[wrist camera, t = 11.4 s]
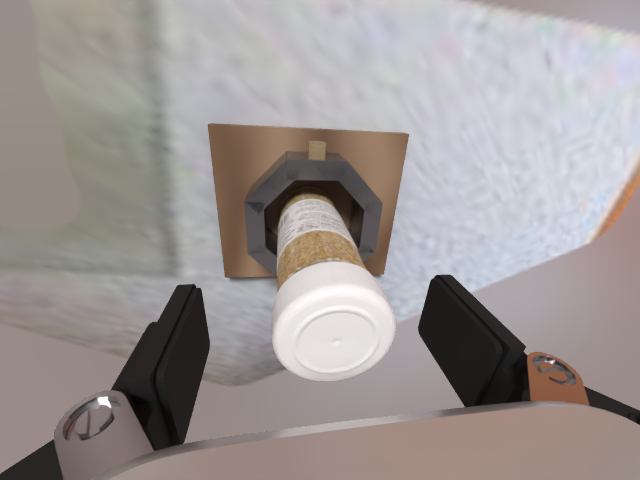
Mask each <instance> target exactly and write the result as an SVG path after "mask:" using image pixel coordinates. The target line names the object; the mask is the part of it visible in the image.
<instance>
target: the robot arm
mask: <svg viewBox="0 0 640 480" xmlns="http://www.w3.org/2000/svg"><path fill="white" fill-rule="evenodd" d="M418 330H419V334H420V336H421V338H422V339H423V341H424V343H425V344H426V346H427V347H428V349H429V351H430V352H431V354H432V355H433V357H434V358H435V360H436V362H437V363H438V365H439V366H440V368H441V369H442V371H443V373H444V374H445V376H446V377H447V379H448V380H449V382H450V384H451V385H452V387H453V388H454V390H455V392H456V393H457V395H458V396H459V398H460V400H461V401H462V403H463V404H464V406H465V407H464V408H455V409H447V410H438V411H429V412H421V413H412V414H403V415H395V416H386V417H379V418H370V419H362V420H354V421H346V422H338V423H329V424H321V425H313V426H305V427H297V428H289V429H281V430H273V431H265V432H258V433H251V434H243V435H237V436H229V437H223V438H216V439H209V440H202V441H197V442H192V443H187V444H183V443H184V441H185V437H186V434H187V430H188V427H189V423H190V419H191V416H192V412H193V408H194V404H195V401H196V397H197V393H198V390H199V386H200V382H201V379H202V375H203V371H204V368H205V364H206V360H207V356H208V353H209V348H210V340H209V334H208V327H207V321H206V315H205V309H204V303H203V296H202V291H201V288H196V286H195V284H188V285H178V286H177V287H176V289H175V291H174V292H173V294H172V296H171V298H170V300H169V302H168V303H167V305H166V307H165V309H164V311H163V313H162V314H161V316H160V318H159V320H158V322H152V323H150V324H149V325H148V327H147V328H146V330H145V332H144V333H143V335H142V337H141V339H140V340H139V342H138V344H137V346H136V347H135V349H134V351H133V352H132V354H131V356H130V358H129V359H128V361H127V363H126V365H125V366H124V368H123V370H122V371H121V373H120V375H119V377H118V378H117V380H116V382H115V384H114V385H113V387H112V389H111V390H109V391H108V390H107V391H102V392H99V393H95V394H93V395H91V396H89V397H86V398H84V399H83V400H81V401H80V402H78V403H77V404H75V405H74V406H73V407H72V408H71V409H70V410H69V411H67V412H66V413H65V415H64V416H63V417H62V418H61V420H60V421H59V422H58V424H57V426H56V429H55V431H54V439H53V440H52V441H50V442H49V443H47V444H45V445H44V446H43V447H41V448H39V449H38V450H36V451H35V452H33V453H32V454H30V455H29V456H27V457H25V458H24V459H22V460H21V461H19V462H18V463H16V464H15V465H13V466H12V467H10V468H9V469H7V470H5V471H4V472H2V473H1V474H0V480H640V411H639V410H637V409H635V408H632V407H630V406H628V405H625V404H623V403H621V402H618V401H616V400H614V399H612V398H609V397H607V396H605V395H603V394H600V393H598V392H596V391H594V390H591V389H589V388H587V387H585V386H584V385H583V381H582V379H581V377H580V376H579V374H578V373H577V372H576V371H575V370H574V369H573V368H572V367H571V366H570V365H568V364H567V363H565V362H564V361H562V360H561V359H559V358H557V357H554V356H552V355H549V354H546V353H542V352H533V353H530V354H529V355H528V356H527V355H526V354H525V353H524V350H525V348H526V346H525V345H524V344H523V343H522V342H521V341H520V340H519V339H518V338H517V337H515V336H514V335H513V334H512V333H511V332H510V331H509V330H508V329H507V328H506V327H505V326H504V325H503V324H502V323H501V322H500V321H499V320H498V319H497V318H496V317H495V316H493V315H492V314H491V313H490V312H489V311H488V310H487V309H486V308H485V307H484V306H483V305H482V304H481V303H480V302H479V301H478V300H477V299H476V298H475V297H474V296H473V295H472V294H471V293H470V292H468V291H467V290H466V289H465V288H464V287H463V286H462V285H461V284H460V283H459V282H458V281H457V280H456V279H455V278H454V277H453V276H451V275H436V276H435V277H434V279H432V280H431V282H430V285H429V289H428V293H427V296H426V300H425V304H424V307H423V311H422V315H421V319H420V322H419V326H418Z"/></svg>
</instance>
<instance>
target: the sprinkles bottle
mask: <svg viewBox="0 0 640 480" xmlns="http://www.w3.org/2000/svg"><path fill="white" fill-rule="evenodd" d="M278 218H279V226H278V245H277V275H278V277H277V284H278V289H277V295H276V297H275V300H274V303H273V309H272V344H273V348H274V351H275V354H276V356H277V358H278V359H279V361H280V362H281V364H282V365H283V366H284V367H285V368H287V369H288V370H289V371H290V372H292V373H294V374H295V375H297V376H300V377H302V378H305V379H308V380H312V381H320V382H331V381H339V380H344V379H348V378H352V377H354V376H357V375H359V374H361V373H363V372H365V371H367V370H368V369H370V368H371V367H373V366H374V365H375V364H377V363H378V362H379V361H380V360H381V359H382V358H383V357H384V356H385V354H386V353H387V352H388V350H389V348H390V347H391V345H392V343H393V340H394V336H395V332H396V321H395V316H394V312H393V310H392V308H391V306H390V304H389V302H388V300H387V298H386V296H385V294H384V292H383V290H382V288H381V286H380V285H379V283H378V281H377V280H376V279H375V277H374V276H372V275H371V274H370V272H369V271H368V270H367V269H366V267H365V266H364V264H363V262H362V260H361V258H360V255H359V253H358V249H357V247H356V245H355V243H354V241H353V239H352V237H351V235H350V233H349V232H348V230H347V228H346V226H345V224H344V222H343V220H342V218H341V216H340V215H339V213H338V212H337V210H336V209H335V205H334V202H333V200H332V199H331V197H330V196H329V195H328V194H327V193H326V192H325V191H323V190H321V189H320V188H317V187H314V186H301V187H297V188H295V189H293V190H291V191H290V192H289V193H287V194H286V195H285V196H284V198H283V200H282V201H281V204H280V206H279V210H278Z"/></svg>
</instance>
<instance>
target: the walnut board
mask: <svg viewBox="0 0 640 480" xmlns="http://www.w3.org/2000/svg"><path fill="white" fill-rule="evenodd" d="M208 131H209V139H210V148H211V157H212V166H213V175H214V183H215V192H216V201H217V210H218V219H219V228H220V236H221V245H222V254H223V263H224V272H225V277H271V276H275V275H273V274H272V273H271V272H269V271H268V270H267V269H266V268H264V267H263V266H262V265H261V264H259V263H258V262H257V261H256V260H254V259H253V258H252V257H251V256H249V255H248V251H247V236H246V222H245V207H244V201H245V198H246V196H247V193H248V191H249V189H250V186H251V185H252V184H253V183H254V182H256V181H257V180H258V179H259V178H260V177H261V176H262V175H263V174H264V173H265V172H266V171H267V170H268V169H269V168H270V167H271V166H272V165H273V164H274V163H275V162H276V161H277V160H278V159H279V158H280V157H281V156H282V155H283V154H284V153H285V152H286V151H300V152H308V141H324V142H325V143H326V151H325V152H326V153H339V154H340V155H341V156H342V157H343V158H344V159H346V160H347V161H348V162H349V163H350V164H351V166H352V167H353V168H354V169H355V170H356V172H357V173H358V174H359V175H360V176H361V178H362V179H363V180H364V181H365V182H366V184H367V185H368V186H369V187H370V188H371V190H372V191H373V192H374V193H375V194H376V196H377V197H378V198H379V199H380V200H381V202H382V203H383V207H382V213H381V219H380V225H379V232H378V238H377V244H376V251H375V253H374V254H373V255H372V256H371V257H369V258H368V259H367V260H366V261H364V262H363V264H364V266H365V267H366V269H367V270H368V271H369V272H370V274H384V270H385V265H386V259H387V253H388V248H389V242H390V237H391V231H392V226H393V220H394V215H395V209H396V204H397V198H398V193H399V187H400V182H401V176H402V170H403V165H404V159H405V154H406V148H407V143H408V137H409V134H406V133H393V132H373V131H353V130H333V129H312V128H292V127H272V126H252V125H231V124H208ZM301 186H314V187H317V188H320V189H321V190H323V191H325V192H326V193H327V194H328V195H329V196H330V197H331V199H332V200H333V202H334V205H335V209H336V210H337V212H338V213H339V215H340V216H341V218H342V220H343V222H344V224H345V226H346V228H347V229H348V228H349V225H350V216H351V207H352V195H351V194H350V193H349V192H348V191H347V190H346V189H345V188H344V186H343V185H342V184H341V183H340V182H339V181H325V180H294V181H293V182H292V183H291V184H290V185H289V186H288V187H287V188H286V189H285V190H284V191H283V192H282V193H281V194H279V195H278V196H277V197H276V198H275V199H274V200H273V201H272V202H271V203H270V204H269V205H268V206H267V213H268V228H269V229H270V230H272V231H273V232H274V233H275V234H276V235H277V236H278V226H279V218H278V210H279V206H280V204H281V201H282V200H283V198H284V196H285V195H286V194H287V193H289V192H290V191H291V190H293V189H295V188H297V187H301Z"/></svg>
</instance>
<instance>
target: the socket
mask: <svg viewBox="0 0 640 480" xmlns="http://www.w3.org/2000/svg"><path fill="white" fill-rule="evenodd" d="M325 151H326V143H325V142H324V141H308V152H300V151H286V152H285V153H284V154H283V155H282V156H281V157H280V158H279V159H278V160H277V161H276V162H275V163H274V164H273V165H272V166H271V167H270V168H269V169H268V170H267V171H266V172H265V173H264V174H263V175H262V176H261V177H260V178H259V179H258V180H257V181H256V182H254V183H253V184H252V185H251V186H250V189H249V191H248V193H247V196H246V198H245V201H244V207H245V222H246V236H247V251H248V255H249V256H251V257H252V258H253V259H254V260H256V261H257V262H258V263H259V264H261V265H262V266H263V267H264V268H266V269H267V270H268V271H269V272H271V273H272V274H273V275H275V276H276V277H278V275H277V245H278V236H277V235H276V234H275V233H274V232H273V231H272V230H270V229H269V228H268V213H267V206H268V205H269V204H270V203H271V202H272V201H273V200H274V199H275V198H276V197H277V196H278V195H279V194H281V193H282V192H283V191H284V190H285V189H286V188H287V187H288V186H289V185H290V184H291V183H292V182H293V181H294V180H325V181H339V182H340V183H341V184H342V185H343V186H344V188H345V189H346V190H347V191H348V192H349V193H350V194H351V195H352V207H351V216H350V225H349V228H348V229H347V230H348V232H349V233H350V235H351V237H352V239H353V241H354V243H355V245H356V247H357V249H358V253H359V255H360V258H361V260H362V262H364V261H366V260H367V259H368V258H369V257H371V256H372V255H373V254H374V253H375V251H376V244H377V238H378V232H379V225H380V219H381V213H382V207H383V203H382V202H381V200H380V199H379V198H378V197H377V196H376V194H375V193H374V192H373V191H372V190H371V188H370V187H369V186H368V185H367V184H366V182H365V181H364V180H363V179H362V178H361V176H360V175H359V174H358V173H357V172H356V170H355V169H354V168H353V167H352V166H351V164H350V163H349V162H348V161H347V160H346V159H344V158H343V157H342V156H341V155H340V154H339V153H326V152H325Z"/></svg>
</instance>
